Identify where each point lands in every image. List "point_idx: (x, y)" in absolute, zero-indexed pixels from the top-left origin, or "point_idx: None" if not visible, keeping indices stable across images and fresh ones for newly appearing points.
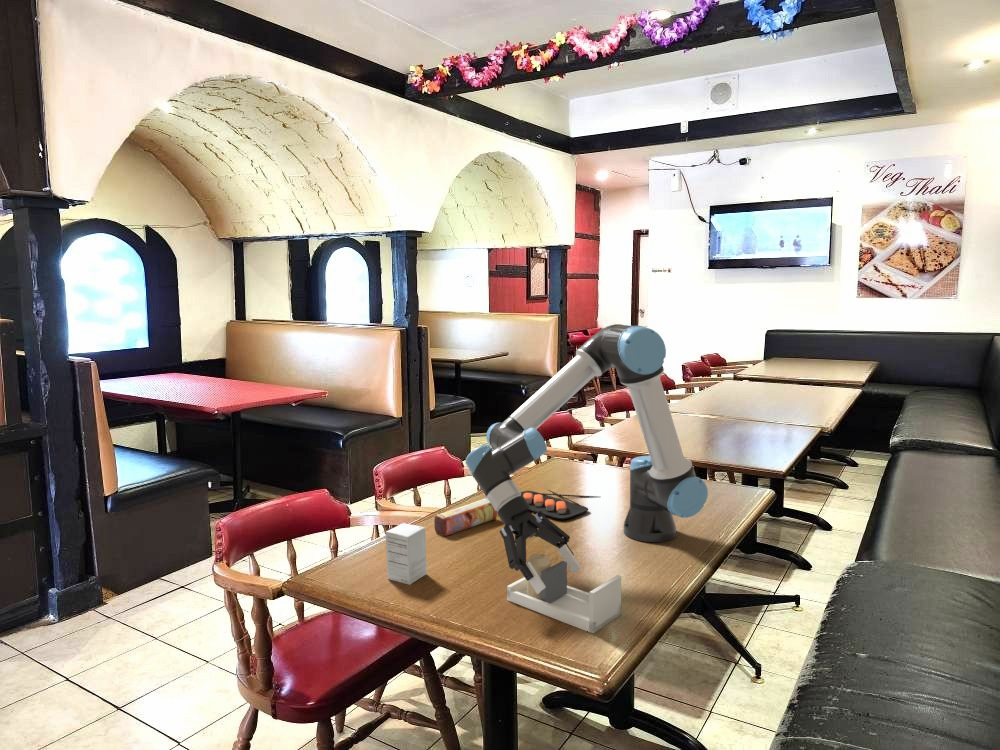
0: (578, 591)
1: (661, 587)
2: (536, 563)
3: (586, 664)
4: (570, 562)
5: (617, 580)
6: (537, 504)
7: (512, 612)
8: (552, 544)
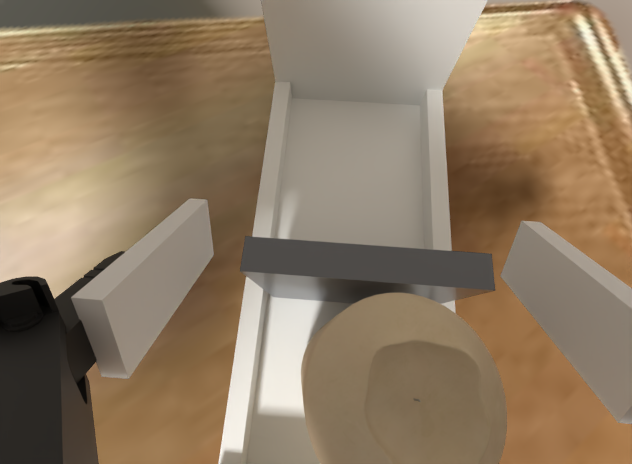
0: (271, 219)
1: (49, 81)
2: (486, 362)
3: (562, 54)
4: (186, 257)
5: None
6: None
7: (509, 397)
8: (96, 447)
